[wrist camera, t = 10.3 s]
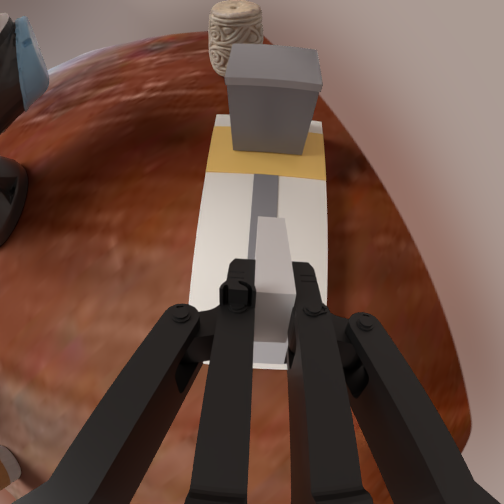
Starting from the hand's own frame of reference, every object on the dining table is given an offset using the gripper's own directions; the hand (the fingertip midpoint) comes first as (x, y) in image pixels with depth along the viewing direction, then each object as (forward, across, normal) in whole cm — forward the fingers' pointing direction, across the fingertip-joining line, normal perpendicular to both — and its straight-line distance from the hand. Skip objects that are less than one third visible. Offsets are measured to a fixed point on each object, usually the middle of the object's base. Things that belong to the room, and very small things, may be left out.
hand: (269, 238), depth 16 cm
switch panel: (+11, 0, -5) cm, 12 cm away
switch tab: (+16, 0, +4) cm, 16 cm away
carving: (+30, -5, +12) cm, 33 cm away
